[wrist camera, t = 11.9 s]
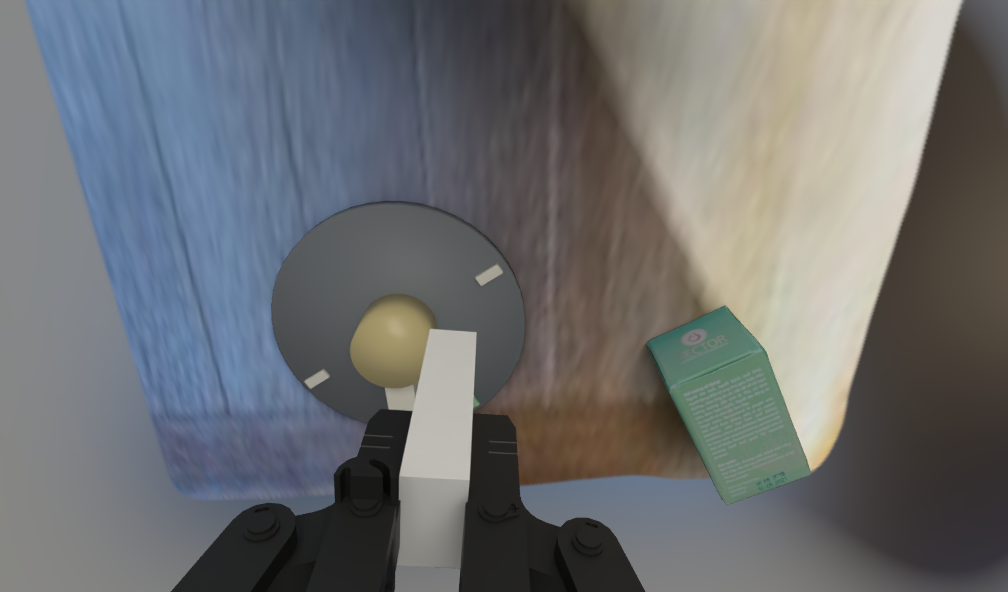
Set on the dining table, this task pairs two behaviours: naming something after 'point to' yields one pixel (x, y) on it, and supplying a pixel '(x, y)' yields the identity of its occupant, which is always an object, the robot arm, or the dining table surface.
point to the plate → (392, 270)
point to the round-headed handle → (393, 346)
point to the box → (730, 405)
